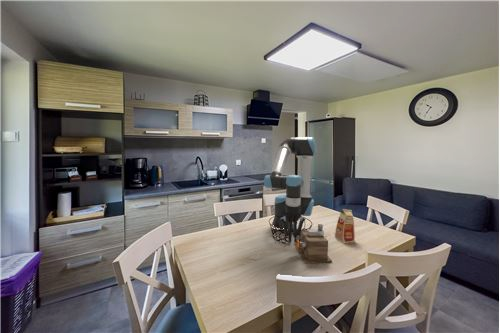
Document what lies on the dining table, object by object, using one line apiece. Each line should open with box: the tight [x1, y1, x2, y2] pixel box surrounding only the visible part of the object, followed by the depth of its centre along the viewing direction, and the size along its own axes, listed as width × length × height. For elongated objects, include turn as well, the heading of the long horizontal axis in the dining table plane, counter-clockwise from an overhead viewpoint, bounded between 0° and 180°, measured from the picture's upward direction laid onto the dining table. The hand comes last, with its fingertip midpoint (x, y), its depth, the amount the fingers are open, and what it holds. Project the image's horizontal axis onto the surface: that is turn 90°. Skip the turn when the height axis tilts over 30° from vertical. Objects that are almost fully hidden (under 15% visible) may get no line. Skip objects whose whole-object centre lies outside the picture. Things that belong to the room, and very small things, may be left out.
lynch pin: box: [294, 239, 305, 251], centre depth 116 cm, size 5×16×5 cm, turn 94°
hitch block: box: [296, 229, 333, 265], centre depth 116 cm, size 16×14×11 cm
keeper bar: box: [306, 223, 325, 237], centre depth 116 cm, size 3×8×6 cm, turn 94°
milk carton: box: [334, 208, 356, 244], centre depth 136 cm, size 9×9×20 cm
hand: (292, 247), depth 116 cm, fingers closed
